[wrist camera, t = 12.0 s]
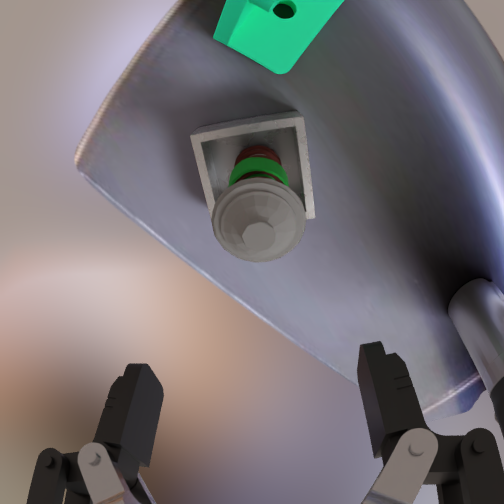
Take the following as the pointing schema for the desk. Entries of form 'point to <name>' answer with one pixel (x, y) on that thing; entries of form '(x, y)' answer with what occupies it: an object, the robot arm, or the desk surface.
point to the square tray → (251, 134)
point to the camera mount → (272, 29)
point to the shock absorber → (258, 209)
